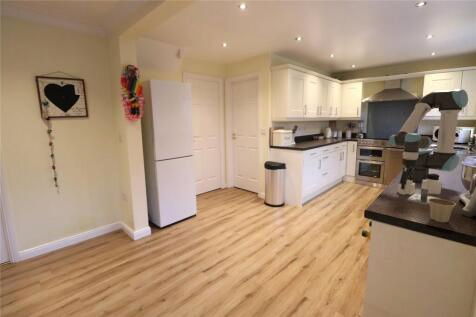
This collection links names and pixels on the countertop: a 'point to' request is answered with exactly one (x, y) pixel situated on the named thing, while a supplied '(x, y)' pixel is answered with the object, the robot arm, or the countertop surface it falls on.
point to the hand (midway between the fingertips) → (405, 192)
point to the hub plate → (417, 199)
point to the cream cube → (408, 188)
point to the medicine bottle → (432, 184)
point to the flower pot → (440, 209)
